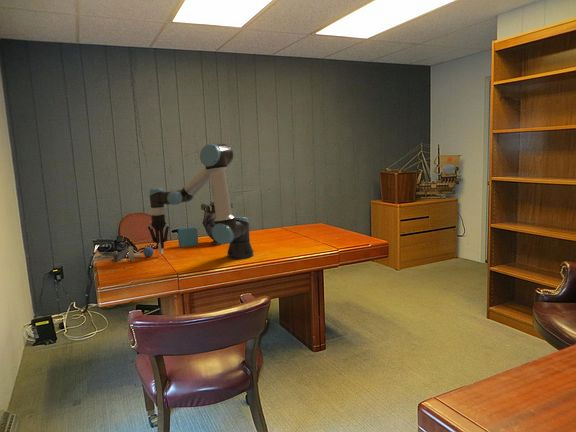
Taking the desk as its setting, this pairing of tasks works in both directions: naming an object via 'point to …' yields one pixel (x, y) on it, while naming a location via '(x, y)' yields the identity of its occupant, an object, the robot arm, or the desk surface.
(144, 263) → the desk surface
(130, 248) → the sage pin
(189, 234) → the data package
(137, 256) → the ivory pin
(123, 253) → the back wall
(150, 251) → the ball
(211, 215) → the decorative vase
